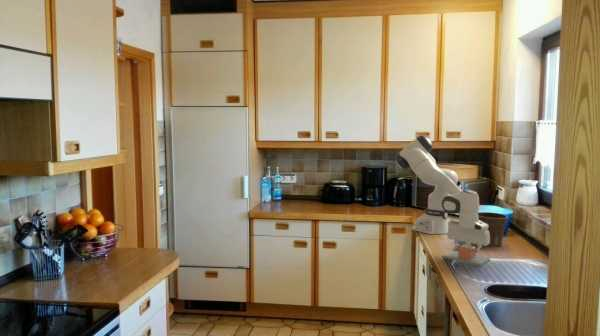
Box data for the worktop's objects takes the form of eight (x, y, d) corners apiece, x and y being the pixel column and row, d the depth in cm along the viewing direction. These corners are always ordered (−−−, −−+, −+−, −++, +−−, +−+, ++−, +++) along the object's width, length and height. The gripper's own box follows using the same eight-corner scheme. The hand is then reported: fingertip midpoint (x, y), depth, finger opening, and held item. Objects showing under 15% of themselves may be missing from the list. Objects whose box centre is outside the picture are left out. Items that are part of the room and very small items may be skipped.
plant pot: (491, 238, 264) (492, 211, 262) (512, 245, 249) (514, 216, 247) (468, 241, 258) (469, 213, 257) (489, 248, 243) (490, 219, 241)
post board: (444, 258, 227) (444, 242, 226) (454, 253, 235) (455, 237, 234) (480, 266, 214) (481, 249, 213) (490, 260, 223) (491, 244, 222)
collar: (458, 257, 225) (458, 247, 224) (463, 254, 229) (464, 244, 228) (470, 259, 221) (470, 249, 220) (475, 257, 225) (475, 247, 224)
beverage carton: (455, 249, 242) (456, 237, 242) (464, 241, 258) (465, 230, 258) (471, 252, 238) (472, 239, 237) (479, 243, 254) (479, 232, 253)
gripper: (445, 220, 228) (444, 247, 229) (486, 227, 214) (485, 256, 215) (451, 218, 232) (450, 245, 234) (492, 225, 218) (490, 253, 220)
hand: (467, 250), depth 224 cm, fingers open, 8 cm apart
